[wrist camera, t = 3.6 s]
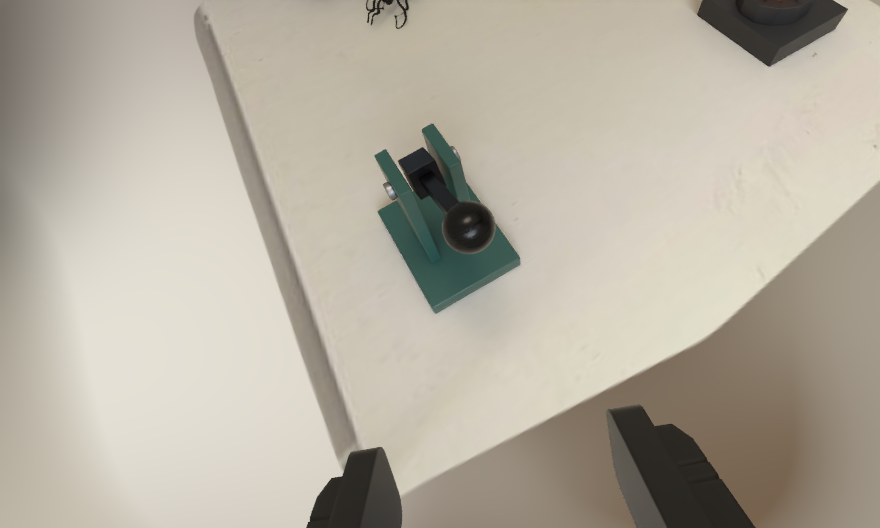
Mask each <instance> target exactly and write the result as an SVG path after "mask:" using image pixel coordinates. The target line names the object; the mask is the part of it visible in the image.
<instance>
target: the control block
mask: <svg viewBox="0 0 880 528" xmlns="http://www.w3.org/2000/svg"><path fill="white" fill-rule="evenodd" d="M847 10H848V9H847V8H845V7H843V6H842V5H840V4H838V3H837V2H835V1H833V0H702V3H701V6H700V9H699V12H698V16H700V17H701V18H702V19H704V20H705V21H707V22H708V23H709V24H711V25H712V26H713V27H715V28H716V29H718V30H719V31H720V32H722V33H723V34H725V35H726V36H727V37H729V38H730V39H732V40H733V41H734V42H736V43H737V44H738V45H740V46H741V47H743V48H744V49H745V50H747V51H748V52H750V53H751V54H752V55H754V56H755V57H757V58H758V59H759V60H761V61H762V62H763V63H765V64H766V65H768V66H771V65H773V64H774V63H776V62H778V61H780V60H781V59H783V58H785V57H787V56H788V55H790V54H792V53H794V52H795V51H797V50H799V49H801V48H802V47H804V46H806V45H808V44H809V43H811V42H813V41H815V40H816V39H818V38H820V37H822V36H823V35H825V34H827V33H829V32H830V31H832V30H834V29H835V28H836V27H837V25H838V24H839V22H840V21H841V19H842V18H843V16H844V15H845V13H846V12H847Z"/></svg>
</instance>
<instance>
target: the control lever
mask: <svg viewBox="0 0 880 528" xmlns="http://www.w3.org/2000/svg"><path fill="white" fill-rule="evenodd" d="M398 162H399V164H400V166H401V168H402V170H403V172H404V174H405V176H406V178H407V180H408V182H409V184H410V186H411V187H412V189H413V190H414V191H415V193H416V194H417V195H418V197H419V198H420V199H421V200H422V199H424V198H426V197H428V196H430V197H431V198H432V199H433V201H434V202H435V203H436V204H437V206H438V207H439V208H440V209H441V211H442V212H443V213H444V214H445V216H444V218H443V222H442V233H443V237H444V239H445V241H446V243H447V244H448V245H449V246H450V247H451V248H452V249H453V250H455V251H457V252H459V253H462V254H475V253H478V252H481V251H482V250H484V249H485V248H486V247H488V246H489V244H490V243H491V242H492V240H493V238H494V235H495V228H496V227H495V220H494V217H493V215H492V213H491V212H490V210H489V209H488V208H487V207H486V206H484V205H483V204H481V203H479V202H476V201H462V202H459V201H458V199H457V198H456V197H455V196H454V195H453V194H452V193H451V192H450V191H449V190H448V188H447V187H446V183H445V181H444V179H443V176H442V174H441V172H440V170H439V167H438V165H437V163H436V161H435V159H434V158H433V157H432V156H431V155H430V154H429V153H428V152H427V151H426V150H425V149H424V148H423V147H422V148H420V149H418V150H417V151H415V152H413V153H411V154H409V155H408V156H406V157H404V158H402V159H400V160H399V161H398Z"/></svg>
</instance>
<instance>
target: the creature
mask: <svg viewBox="0 0 880 528" xmlns="http://www.w3.org/2000/svg"><path fill="white" fill-rule="evenodd" d="M375 1H376V0H373V9H371V10H369V9H368V8H367V3H366V8H367V10H368V11H370V12H369V13H368V21H367V23H368V22H369V14H370V13H371V12H374V11H375V9H377V13H374V14H373V16H372V20H371V25H372V22H373V17H374V15H378V14H380V9H384V8H383V7H382V8H379V5H380V2H381V0H379V1H378V3H377V8H375ZM382 1H383V2H386V4H387V5H390V4H391V3H392V1H393V0H382ZM367 2H368V0H367ZM397 3H398V4H399V6H400V7H401V8H402V9H403V11H404V12H403V13H404V15H405V21H404V23H403V25H404V24H405V22H406V20H407V15H406V11H405V10H408V9H409V7H408V3H407V0H405V3H406V9H405V8H404V7H403V6H402V5H401V4H400V2H399V0H397ZM403 13H402V14H403ZM398 16H399V15H398ZM396 17H397V16H395V18H396ZM396 25H397V19H396ZM403 25H402V26H403ZM402 26H401V27H402ZM401 27H400V28H401ZM396 28H397V27H396ZM397 29H399V28H397Z"/></svg>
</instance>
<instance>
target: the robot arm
mask: <svg viewBox="0 0 880 528" xmlns="http://www.w3.org/2000/svg"><path fill="white" fill-rule="evenodd" d="M606 414H607V415H606V416H607V423H608V430H609V437H610V444H611V452H612V459H613V465H614V469H615V473H616V477H617V480H618V483H619V486H620V489H621V492H622V494H623V496H624V499H625V501H626V504H627V506H628V508H629V511H630V513H631V515H632V518H633V520H634V523H635V525H636V527H637V528H755V526H754V525H753V524H752V522H751V521H750V519H749V518H748V517H747V515H746V514H745V512H744V511H743V509H742V508H741V507H740V505H739V504H738V502H737V501H736V499H735V498H734V497H733V495H732V494H731V492H730V491H729V489H728V488H727V487H726V485H725V484H724V482H723V481H722V479H719V476H718V474H717V472H716V471H715V469H714V468H713V467H712V465H711V464H710V462H708V461H707V458H706V457H705V455H704V454H703V452H702V451H701V450H700V448H699V447H698V445H697V444H696V443H695V441H694V439H693V438H691V437H690V436H688V435H687V434H685V433H684V432H683V431H681V430H680V429H678V428H677V427H676V426H674V425H673V424H667V425H660V426H654V425H653V423H652V422H651V420H650V418H649V417H648V415H647V413H646V412H645V410H644V409H643V407H642V406H641V405H640V404H637V405H631V406H626V407H619V408H614V409H608V410H607V412H606ZM401 525H402V506H401V499H400V495H399V492H398V489H397V486H396V483H395V480H394V477H393V474H392V471H391V468H390V465H389V462H388V459H387V456H386V454H385V451H384V449H383V448H382V447H378V448H372V449H366V450H360V451H354V452H351V453H350V455H349V457H348V460H347V463H346V466H345V470H344V473H343V476H342V477H335V478H331V480H330V481H329V482H328V484H327V485H326V486H325V487H324V489H323V490H322V492H321V493H320V494H319V496H318V497H317V499H316V502H315V505H314V507H313V510H312V513H311V516H310V522H308V525H307V527H306V528H401Z"/></svg>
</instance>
